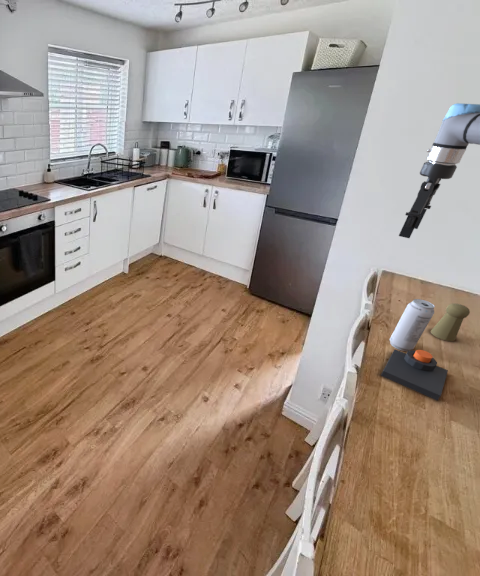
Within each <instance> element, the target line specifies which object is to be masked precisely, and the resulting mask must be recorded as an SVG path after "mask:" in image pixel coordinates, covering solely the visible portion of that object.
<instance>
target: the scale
mask: <svg viewBox="0 0 480 576" xmlns="http://www.w3.org/2000/svg"><path fill="white" fill-rule="evenodd" d="M415 352H416V350H414V349H412V350H410V351H406V352H404V351H402V350H399V349H397V348H394V349H393V351H392V353H391V355H390V356H389V358H388V361H387V362H386V364H385V366H384V368H383V370H382V372H381V374H380V376H381V377H383V378H385V379H387V380H390V381H392V382H394V383H397V384H399V385H401V386H403V387H405V388H407V389H410V390H413V391H415V392H416V393H419V394H421V395H424V396H426V397H428V398H430V399H433V400H435V401H436V402H437V401H439V399H440V398H441V396H442V393H443V390H444V385H445V382H446V379H447V375H448V372H449V371H448V370H449V369H446V368H444V367H441V366H438V361H437V360H436V359H435V358H434V357H433V358H432V359H431V361H430V362H429V363H424V362H421V361H419V360H417V359H415V358H414V357H413V355H414V354H415Z"/></svg>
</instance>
